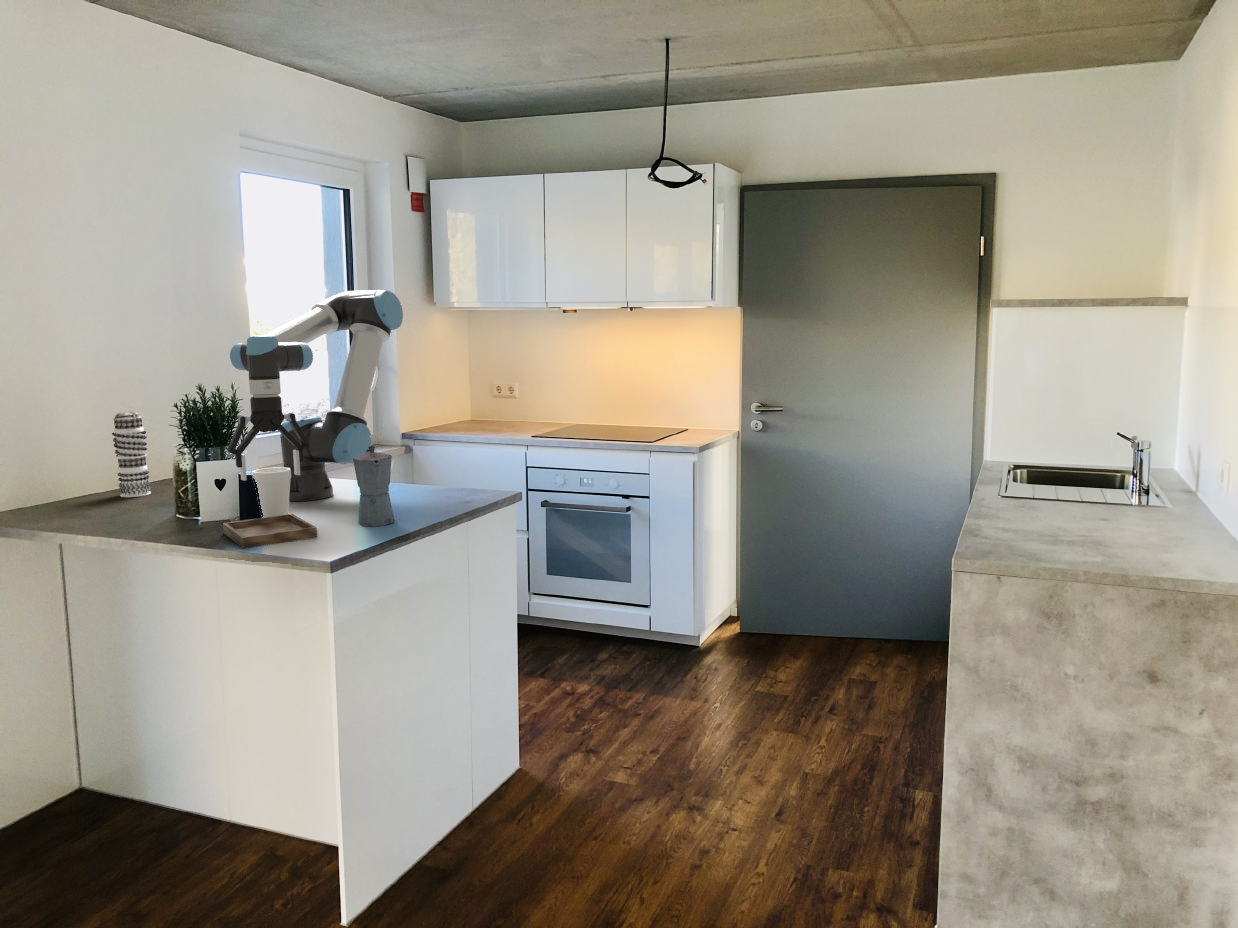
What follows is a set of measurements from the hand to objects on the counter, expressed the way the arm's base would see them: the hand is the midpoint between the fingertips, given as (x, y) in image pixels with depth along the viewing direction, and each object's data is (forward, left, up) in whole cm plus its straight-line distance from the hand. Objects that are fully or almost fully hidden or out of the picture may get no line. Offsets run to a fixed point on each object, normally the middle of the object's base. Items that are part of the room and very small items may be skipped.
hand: (271, 477), depth 250 cm
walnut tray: (+6, +19, -11) cm, 23 cm away
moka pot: (-19, +22, -11) cm, 31 cm away
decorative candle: (+24, -65, -11) cm, 70 cm away
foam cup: (0, 0, -11) cm, 11 cm away
